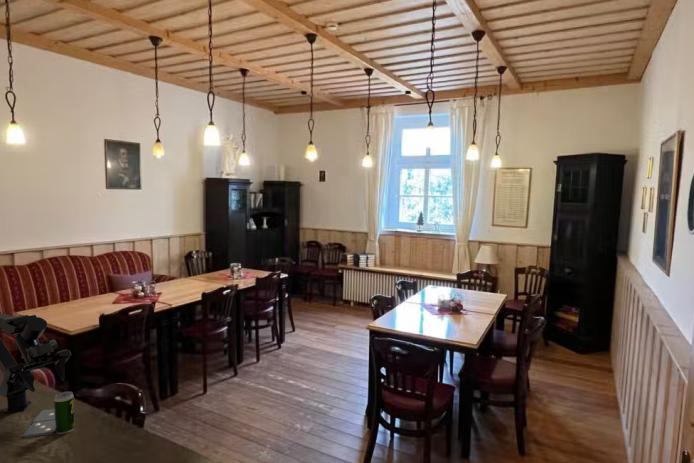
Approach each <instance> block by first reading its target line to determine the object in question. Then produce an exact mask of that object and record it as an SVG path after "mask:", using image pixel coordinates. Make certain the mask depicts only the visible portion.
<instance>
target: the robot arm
mask: <svg viewBox="0 0 694 463" xmlns="http://www.w3.org/2000/svg"><path fill="white" fill-rule="evenodd" d="M47 326H48V322H47V320H46V319H44V318H42V317H39V316H37V315H36V314H24V315H23V314H22V315H17V316H16V315H15V316H13V315H10V314H7V313H2V312H1V311H0V336H1V334H2V330H3V331H4V332H3V333H5V334H6V335H8V336H14V335H17V336H16V337H15V339H14V342H13V345H14V346H17V347H18V349H19V351H20V354H21V356H20V358H21V359H22V360H24V362H25V363H22V362H19V363H17V361H16V359H15V358H14V356H13V355H12V353H11V351H10V350H9V349H8V348H7V346H6V344H5V343H4V342H3V340H2V339H1V338H0V371H1V373H2V374H3V375H2V380H1V384H0V396H1V397H3V398H6V407H5V409H3V411H2V413H3V414H6V413H7V414H8V413H14V412H24V411H25V410H26V409H27V408H28V407H29V406H30V405H31V403H32V401H30V400H29V401H28V396H27V395H28V394H27V391H28V390H29V391H30V392H32V393H34V392H35V391H36V389H35V386H34V382H35V375H34V372H32V370H34V369H37V368H40V367H44V366H47V365H51V364H52V365H54V367H53V368H54V370H55V372H56V373H57V376H58V377H59V379H60V381H62V382H64V381H65V380H66V376H65V374H66V373H65V371H66V369H65V365H66V363H67V362H68V360H69V359H70V357H71V356H72V352H71V350H69V349H63V350H59V351H56V352H55V353H54V355H53V356H52V357H50V355H51V353H53V352H54V350H55V349H57V348H59V345H58V342H57V341H56V338H55V339H50V340H47V342H46V343H43V342H40V341H39V338H41V337H42V334H43V333H44V332H45V330H46V328H47Z"/></svg>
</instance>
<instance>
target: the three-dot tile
mask: <svg viewBox="0 0 694 463" xmlns="http://www.w3.org/2000/svg"><path fill="white" fill-rule="evenodd" d="M54 431H56V428H55V420H50V421H42V422H34V423H33V422H32V424H31V425H29V427H28V429H26V430H25V432H24V433H23V434H22V439H23V438H24V439H25V438H32V437H40V436H49V435H53V433H54Z"/></svg>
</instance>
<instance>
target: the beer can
mask: <svg viewBox="0 0 694 463" xmlns="http://www.w3.org/2000/svg"><path fill="white" fill-rule="evenodd" d="M53 407H54V408H53V409H54V410H55V428H56V429H55V433H57V434H58V435H64V434H65V435H66V434H69V433H71V432H72V431H74V430H75V427H76V414H75V413H76V412H75V396H74V393H73V391H63V392H59V393H57V394H55V395H54V399H53Z"/></svg>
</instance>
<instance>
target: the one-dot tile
mask: <svg viewBox="0 0 694 463" xmlns="http://www.w3.org/2000/svg"><path fill="white" fill-rule="evenodd" d="M50 420H55V410H54V408H52V409H43V410H41V411H40V413H39V414H38V415H37V416H36V417H35V418H34V419H33V420H32V424H33V423H34V422H42V421H50Z"/></svg>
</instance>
